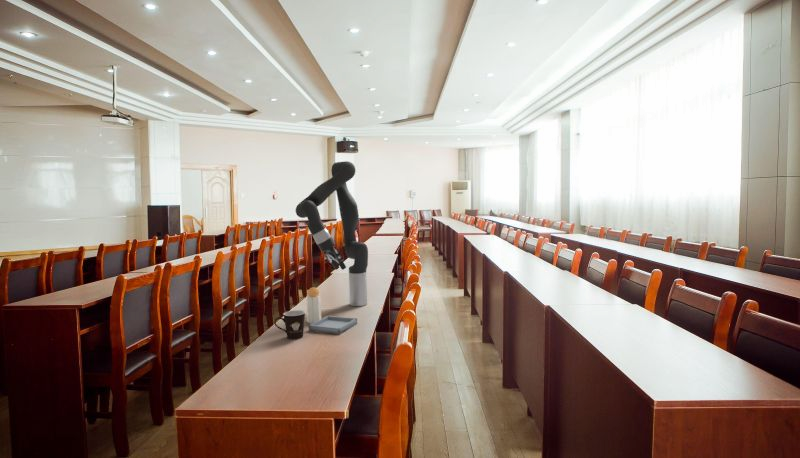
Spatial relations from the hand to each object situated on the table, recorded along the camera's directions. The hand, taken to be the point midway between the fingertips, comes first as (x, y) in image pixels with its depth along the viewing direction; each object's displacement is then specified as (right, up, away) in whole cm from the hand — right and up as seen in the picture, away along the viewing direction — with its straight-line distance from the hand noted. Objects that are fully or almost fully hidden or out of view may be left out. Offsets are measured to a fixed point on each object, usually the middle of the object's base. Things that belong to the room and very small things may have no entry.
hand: (340, 268), depth 210 cm
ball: (-11, -10, -8) cm, 17 cm away
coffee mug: (-16, -26, -29) cm, 42 cm away
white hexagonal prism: (-11, -24, -7) cm, 27 cm away
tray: (-1, -24, -16) cm, 29 cm away
